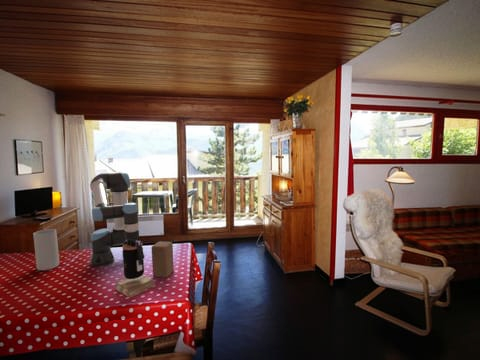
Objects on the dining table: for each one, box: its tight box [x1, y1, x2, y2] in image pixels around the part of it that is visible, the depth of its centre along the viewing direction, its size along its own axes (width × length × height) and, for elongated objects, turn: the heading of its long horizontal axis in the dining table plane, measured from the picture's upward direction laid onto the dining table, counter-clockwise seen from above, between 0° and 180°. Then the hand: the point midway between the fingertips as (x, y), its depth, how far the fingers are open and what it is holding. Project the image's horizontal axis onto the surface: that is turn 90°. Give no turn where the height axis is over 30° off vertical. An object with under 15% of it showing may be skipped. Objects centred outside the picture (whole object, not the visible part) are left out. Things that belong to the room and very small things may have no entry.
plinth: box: [115, 274, 155, 298], centre depth 146 cm, size 15×15×4 cm
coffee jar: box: [121, 242, 145, 279], centre depth 144 cm, size 11×11×18 cm
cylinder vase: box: [32, 228, 60, 271], centre depth 174 cm, size 12×12×25 cm
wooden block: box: [151, 240, 175, 279], centre depth 161 cm, size 10×10×20 cm
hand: (134, 267), depth 145 cm, fingers closed on coffee jar, 11 cm apart
